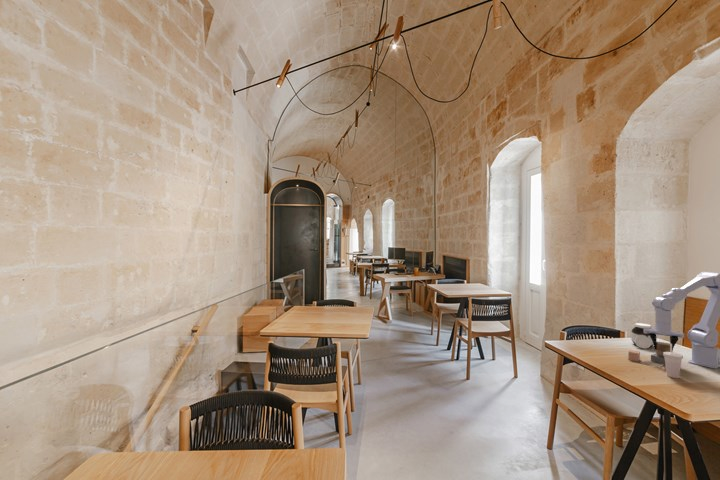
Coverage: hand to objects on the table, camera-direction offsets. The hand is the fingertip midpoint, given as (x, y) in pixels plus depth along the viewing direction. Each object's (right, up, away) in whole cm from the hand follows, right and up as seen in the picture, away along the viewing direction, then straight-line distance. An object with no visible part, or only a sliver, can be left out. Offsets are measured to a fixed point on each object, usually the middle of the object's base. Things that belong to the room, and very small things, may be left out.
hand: (663, 350), depth 164 cm
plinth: (0, -6, 0) cm, 6 cm away
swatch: (-7, -6, -2) cm, 9 cm away
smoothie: (-10, -6, -16) cm, 20 cm away
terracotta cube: (-11, -6, +4) cm, 13 cm away
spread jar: (+11, -6, +25) cm, 28 cm away
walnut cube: (0, -2, 0) cm, 2 cm away
